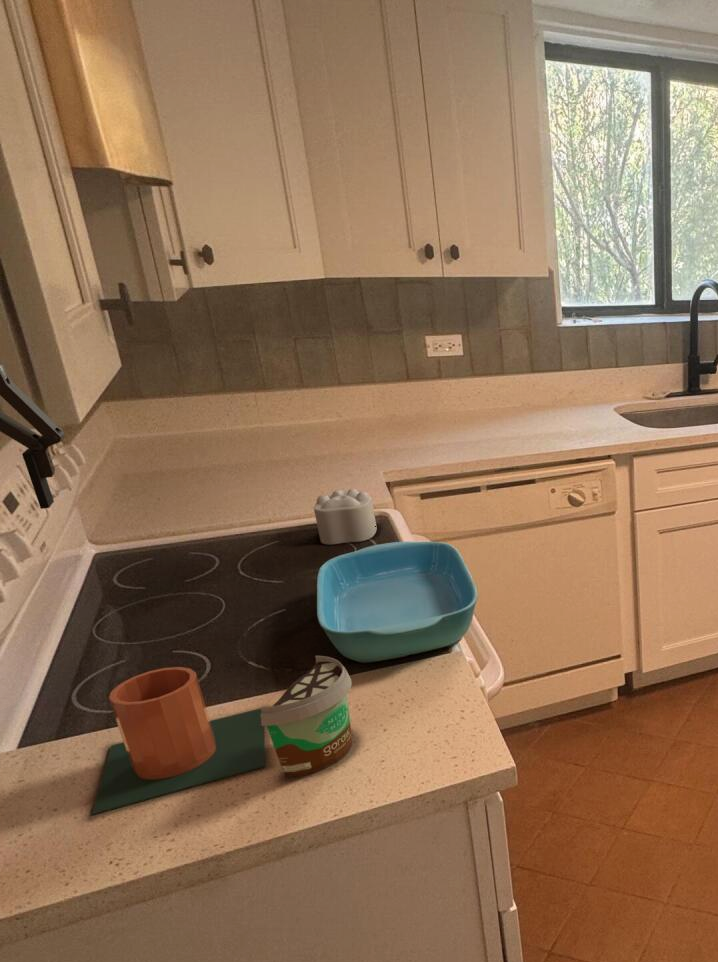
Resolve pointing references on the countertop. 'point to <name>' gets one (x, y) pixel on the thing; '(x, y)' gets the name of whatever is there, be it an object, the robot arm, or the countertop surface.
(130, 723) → the cup
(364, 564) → the casserole dish
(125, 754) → the mat
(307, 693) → the food container
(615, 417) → the countertop surface
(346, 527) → the lumpy-topped squat cylinder
